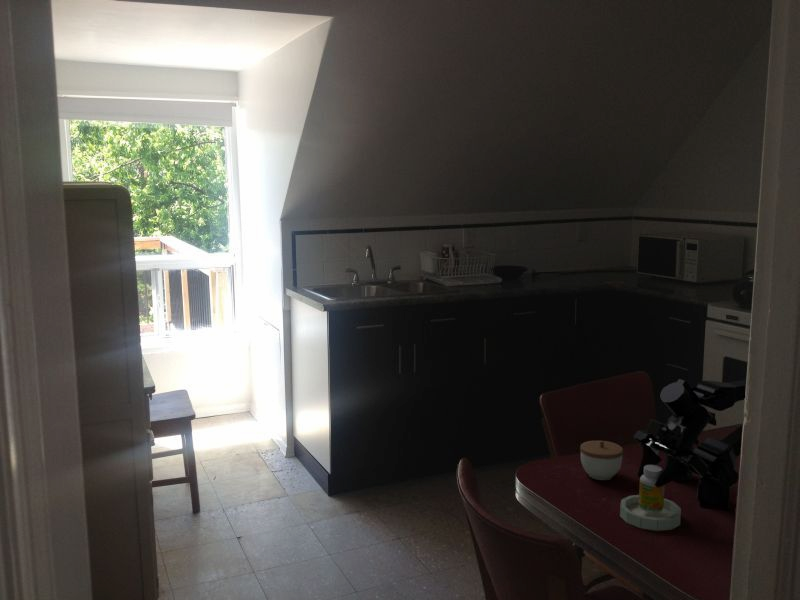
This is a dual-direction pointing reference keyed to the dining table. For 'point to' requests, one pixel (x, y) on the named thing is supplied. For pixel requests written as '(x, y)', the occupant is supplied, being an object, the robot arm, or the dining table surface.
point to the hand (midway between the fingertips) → (647, 481)
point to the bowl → (650, 515)
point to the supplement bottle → (651, 490)
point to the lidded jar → (601, 459)
